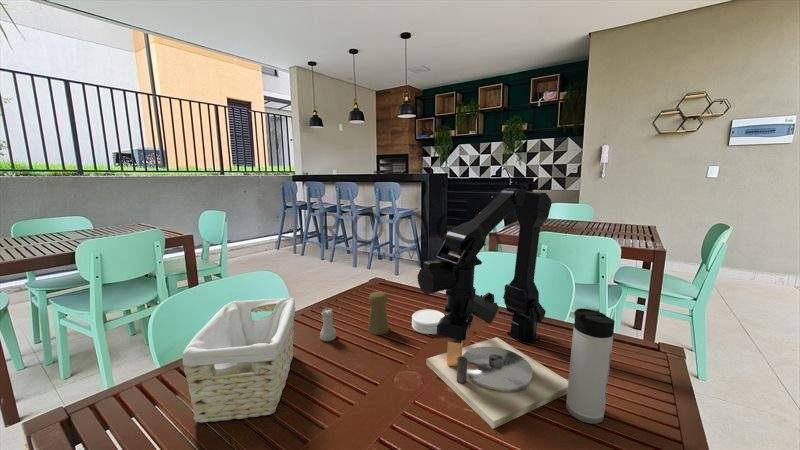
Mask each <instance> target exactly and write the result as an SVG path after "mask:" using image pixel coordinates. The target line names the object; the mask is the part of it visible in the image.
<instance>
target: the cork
mask: <svg viewBox="0 0 800 450" xmlns="http://www.w3.org/2000/svg"><path fill="white" fill-rule="evenodd" d="M368 302H369V304H370V309H369V315H368V317H369V318H368V325H367V333H369V334H371V335H374V336H379V335H385V334H387V333H388V332H389V329H390V327H389V320H388V313H387V307H386V304H387V303H388V296H387V294H386V293H385V292H383V291H374V292H371V293H370V294H369V296H368Z"/></svg>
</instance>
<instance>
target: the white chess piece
mask: <svg viewBox="0 0 800 450" xmlns="http://www.w3.org/2000/svg"><path fill="white" fill-rule="evenodd" d="M334 314H335V313H334V312H333V308H331V307H330V308H329V307H328V308H327V307H326V308H323V309H322V312H321V316H322V328H321V331H320V332H319V335H320V336H319V339H320V340H321V341H323V342H331V341H334V340H335V339H336V338H337V331H336V329H335V327H334V324H333V320H334V317H333V315H334Z"/></svg>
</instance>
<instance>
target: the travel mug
mask: <svg viewBox="0 0 800 450" xmlns="http://www.w3.org/2000/svg"><path fill="white" fill-rule="evenodd" d="M573 312H574V313H573V316H574V324H573V330H572V340H571V349H570V360H569V361H570V362H569V371H568V390H567V394H566V403H565V407H566V410H567V412H568V413H569V414H570V415H571V416H572V417H573V418H575V419H577V420H579V421H581V422H583V423H585V424H586V423H587V424H592V425H593V424H594V425H595V424H599V423H601V422H603V421H604V418H605V411H606V410H605V409H606V403H607V394H608V393H607V392H608V385H609V378H610V377H609V376H610V369H611V368H610V367H611V359H612V350H613V343H614V331H615V330H614V329H615V323H616V322H615V320H614V319H613V318H612V317H609V316H607V315H606V314H605V313H602V312H600V311H597V310H593V309H589V308H577V309H575V310H574V311H573Z"/></svg>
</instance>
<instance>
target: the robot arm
mask: <svg viewBox="0 0 800 450" xmlns="http://www.w3.org/2000/svg"><path fill="white" fill-rule="evenodd" d="M551 208H552V198H550V197H549V194H547V193H546V192H540V191H539V192H538V191H525V190H521V189H520V188H509V187H508V188H503V189H501V190H500V191H499V194H498V195H497V196H496V197H495V198H494V199H493V200H492V201H490V202H489V203H488V204H487V205H486V206H485V207H484V208H483V209H482V210H480V212H478V213H477V215H475V216H474V217H473V218H472V219H470V220H469V221H466V222H464V223H461V224H458V225H457V226H455V227H453V228H452V229H450V230H449V231H448V232H447V233H445V237H444V238H445V239H444V240H443V243H442V244H441V246H440V248H439V249H438V251H437V253H436V254H435V256H434V258H435V260H426V261H423V267H421V268H420V269H419V271H418V274H417V283H418V286H419V288H420V291H421V292H422V293H424V294H425V295H431V294H434V293H438V292H443V291H445V295H446V296H447V298H446V299H447V300H446V305H445V307H444V313H447V315H445V316H444V317H442V318H441V319H440V321H439V323H438V325H437V334H436V335H437V336H439V337H444V338H447V339H449V338H453V339H458V340H463V341H466V340H467V338H468V334H469V329H470V328H471V325H472V322H473V319H474V316H475V317H476V318H478V319H480V320H483V321H484V323H486V324H489V325H492V323H493V321H494V319H495V317H496V316H497V313H498V311H499V310H498V309H499V305H498V302H496V301H495V294H493V293H492V292H489V291H488V292H486V293H485V294H484V295H482V294H480V295H479V294H476V293H477V292H476V289H477V288H475V286H474V285H475V284H474V282H475V267H476V266H481V265H482V263H483V261H482V260H480V259H479V257H478V256H477V255H478V254H479V253H480V252H481V250H482V249H483V248H484V246H485V245H486V240H487V236H489V234H490V233H491V232H492V231H493V230H494V229H495V228H496V227H497V226H498V225H499V224H500V223H501V222H502V221H503V220H504V219H505V218H506V217H508V215H510V213H511V212H513V211H514V216H515V217H516V220H517V222H518V224H519V230H518V231H519V232H518V239H517V249H516V255H515V264H514V267H515V268H514V273H513V279H512V280H511V281H510V282H509V283H508V284H505V286H504V293H503V296H502V299H504V305H505V307H506V311H507V312H508V313H510V314H512V316H511V322H510V323H511V324H510V330H507V332H506V334H507V335H509V336H510V337H512V338H513V339H516V340H517V341H519V342H521V343H522V344H525V345H526V344H528V343H531V342H535V341H537V340H539V339H541V338H542V337H541V335H539V334H538V333H537V326H538V323H542V321H543V320H545V316H546V310H545V308H544V307H543V305H542V304H541V303H540V295H539V294H540V292H539V290H538V288H537V285H536V282H535V273H536V268H537V267H536V266H537V265H536V264H537V256H538V249H539V240H540V239H539V238H540V233H541V227H542V226H543V224H544V223H545V222H546V221H547V220H548V218H549V216H550V210H551ZM454 255H455V256H454Z"/></svg>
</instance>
